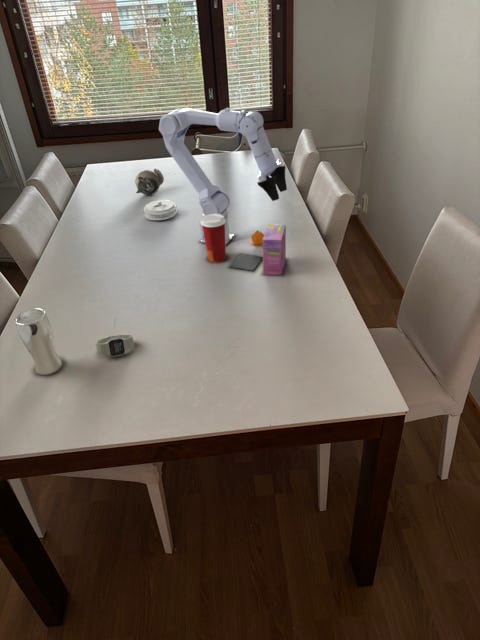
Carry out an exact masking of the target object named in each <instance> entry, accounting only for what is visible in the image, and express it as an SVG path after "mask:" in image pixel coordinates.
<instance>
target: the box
mask: <svg viewBox="0 0 480 640" xmlns="http://www.w3.org/2000/svg"><path fill="white" fill-rule="evenodd" d="M286 231H287V225H285V224H267V225H266V229H265V231H264V233H263V234H264V237H263V242H262V243H263V244H262V257H263V259H262V274H263V275H268V276H282V274H283V271H284V267H285V263H286V260H287V258H286V257H287V256H286V255H287V253H286V249H287V248H286V240H287V239H286V238H287V232H286Z"/></svg>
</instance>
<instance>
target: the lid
mask: <svg viewBox="0 0 480 640" xmlns="http://www.w3.org/2000/svg"><path fill="white" fill-rule="evenodd" d="M143 212H144V218H145V219H147V220H150V221H163V220H168V219H171V218H173V217H175V216H177V214H178V210H177V204H176V203H175V202H173V201H172V200H170V199H169V200H168V199H158V200H154V201H150V202H148V203H147V204H146V205H145V206H144V207H143Z"/></svg>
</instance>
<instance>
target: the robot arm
mask: <svg viewBox="0 0 480 640" xmlns="http://www.w3.org/2000/svg"><path fill="white" fill-rule="evenodd" d="M264 122H265V121H264V117H263V115H262V114H261V113H260V112H258V111H256V110H252V109H251V110H250V111H248V112H246V110H243V109H242V110H240V111H238V110H231V108H230V107H225V108H224V109H222V110H220V111H219V112H218V113H216V112H212V111H211V112H210V111H205V110H199V109H193V108H190V107H185V108H183V107H177V108H176V109H174V110H173V111H171V112H169V113H166V114H163V115H162V116H161V117H160V119H159V125H158V131H159V133H160V134H161V136H162V138H163V142H164V145H165V146H164V147H165V149H166V150H167V151H168V153H169V154H170V156H171V158H172V159H173V160H174V161H175V163H176V164H177V166H178V167H179V169H180V170H181V171H182V173H183V175H184V176H185V177H186V178H187V180H188V182H189V183H190V184H191V186H192V187H193V188H194V190H195V191H196V192H197V194H198V204H199V205H200V207H201V210H202V213H203V214H202V215H201V216H200V219H199V230H200V239H201V240H200V243H205V238H204V232H203V227H202V225H201V223H200V222H201V221H202V218H203V217H204V216H206V215H209V214H220V215H222V216H223V217H224V219H225V220H226V222H225V246H226V245H227V244H228V243H229V242H230V241H231V240H232V239H233V238H234V237H235V234H234V233H230V225H229V224H230V223H229V213H228V208H229V206H230V205H231V200H230V197H229V195H228V194H227V193H226V192H224V191H222V189H221V188H220V187H219V186H217V185H214V184H213V183H212V182H211V181H210V179H209V177H208V176H207V174H206V173H205V171H203V169H202V167H201V166H200V165H199V163H198V161H197V160H196V158H194V156H193V154H192V153H191V152H190V150H189V149H188V147H187V146H186V144H185V137H186V133H187V131H188V129H189V128H190V126H191V125H205V126H216V127H217V129H218V130H220V131H224V132H231V133H238V134H239V133H240V134H241V135H242V136H243V137H245V138H246V140H247V143H248V145H249V147H250V150H251V152H252V153H251V154H252V155H253V157H254V160H255V162H256V165H257V168H258V169H259V172H258V175H257V178H258V181H257V185H258V187H260V188H261V189H262V190H263V191H264V192H265V193H266V195H268V197H269V198H270V200H271V201H272V202H274V201H278V200H279V199H280V197H279V192H280V193H282V192H285V191H287V190H288V188H287V180H286V165H285V164H282V162H281V160H280V158H278V159H276V156H275V153H274V150H273V148H272V146H271V143H270V141H269V138H268V136H267V133H266V131H265V128H264Z"/></svg>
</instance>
